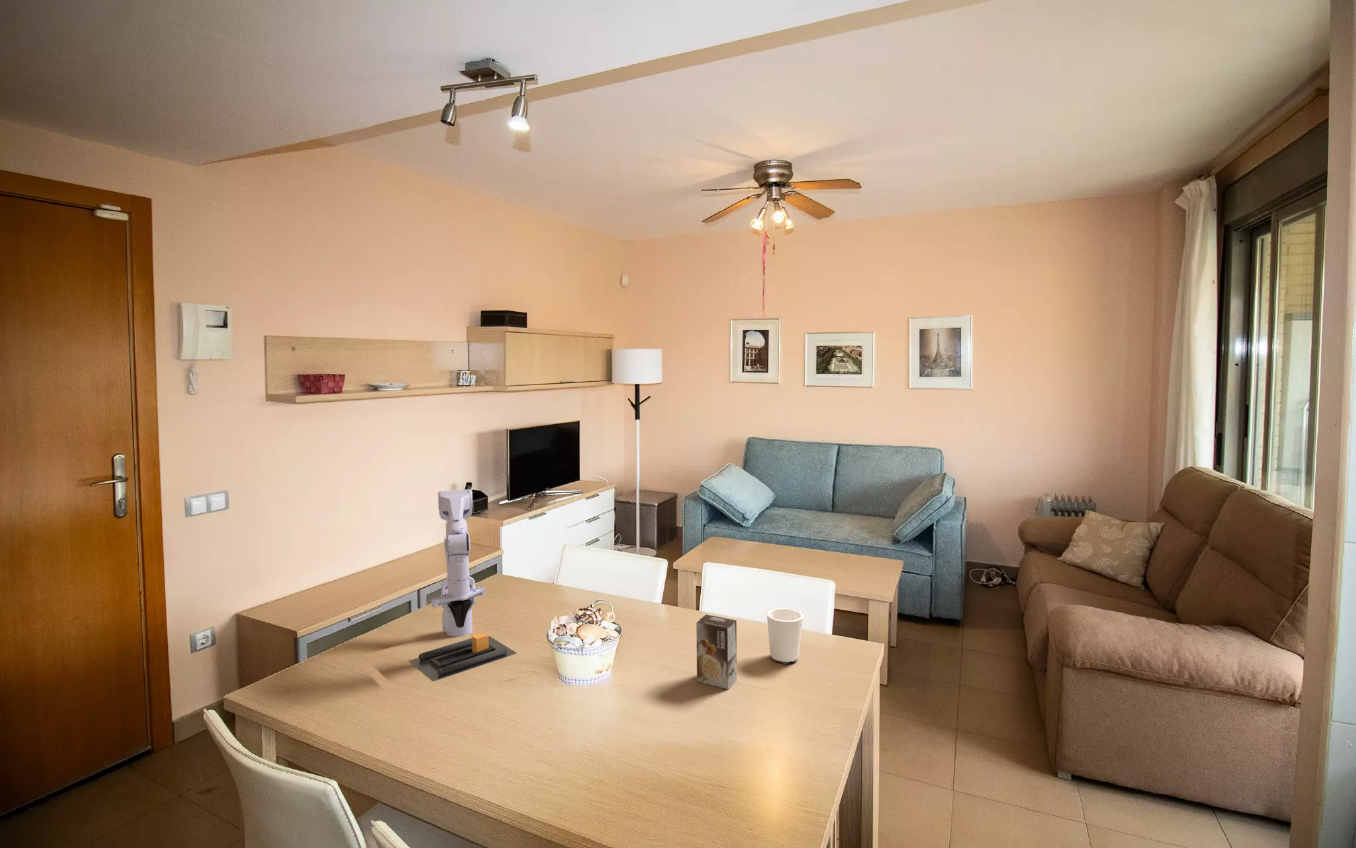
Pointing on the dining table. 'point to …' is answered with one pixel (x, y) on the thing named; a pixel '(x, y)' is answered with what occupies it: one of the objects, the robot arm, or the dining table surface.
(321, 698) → the dining table surface
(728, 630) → the coffee box
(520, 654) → the dining table surface
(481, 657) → the grey rails and frame
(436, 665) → the plate
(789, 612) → the cup
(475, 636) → the orange rectangular box
